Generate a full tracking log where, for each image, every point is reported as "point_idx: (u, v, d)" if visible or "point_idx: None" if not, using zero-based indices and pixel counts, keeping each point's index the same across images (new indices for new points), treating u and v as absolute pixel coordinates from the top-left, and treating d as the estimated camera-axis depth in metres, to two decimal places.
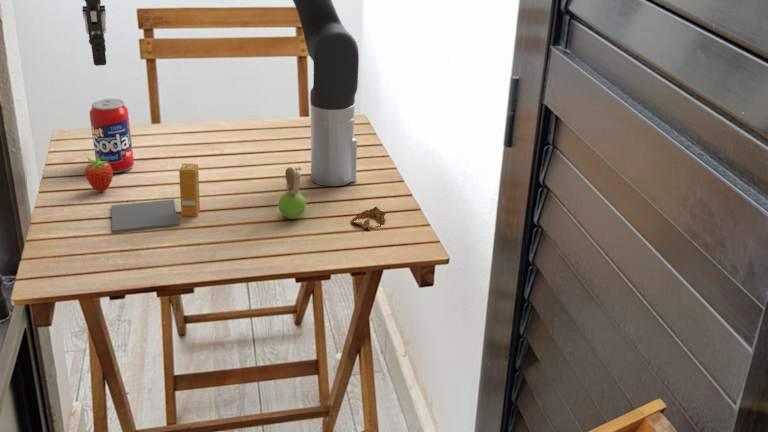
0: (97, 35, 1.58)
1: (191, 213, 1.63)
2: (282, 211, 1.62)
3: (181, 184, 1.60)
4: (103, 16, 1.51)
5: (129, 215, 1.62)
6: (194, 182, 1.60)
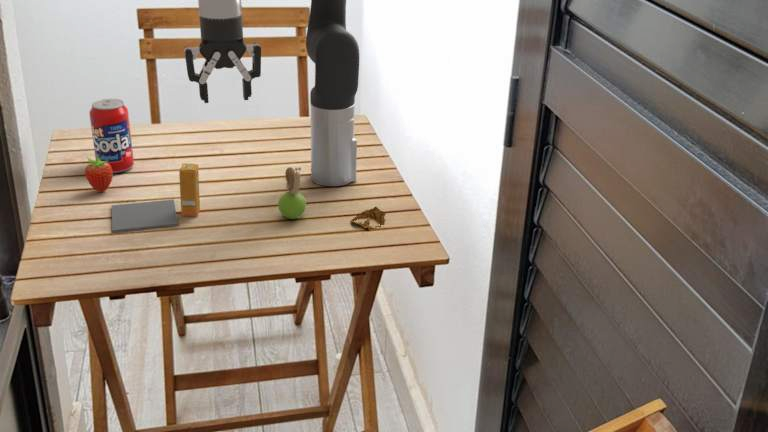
0: (206, 84, 1.55)
1: (191, 213, 1.63)
2: (282, 211, 1.62)
3: (181, 184, 1.60)
4: None
5: (129, 215, 1.62)
6: (194, 182, 1.60)
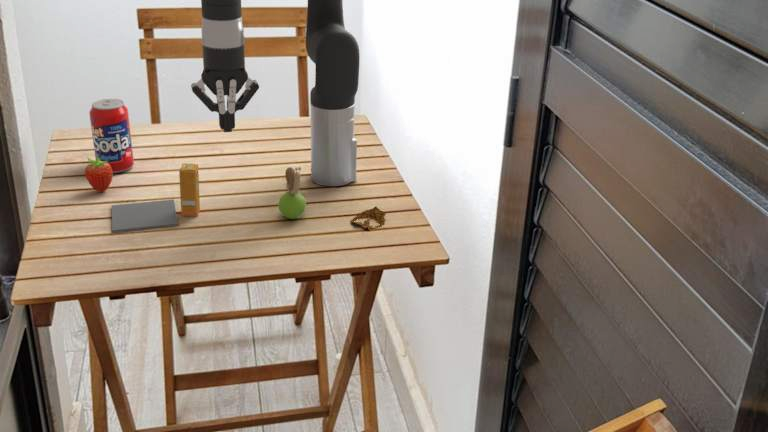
0: None
1: (191, 213, 1.63)
2: (282, 211, 1.62)
3: (181, 184, 1.60)
4: None
5: (129, 215, 1.62)
6: (194, 182, 1.60)
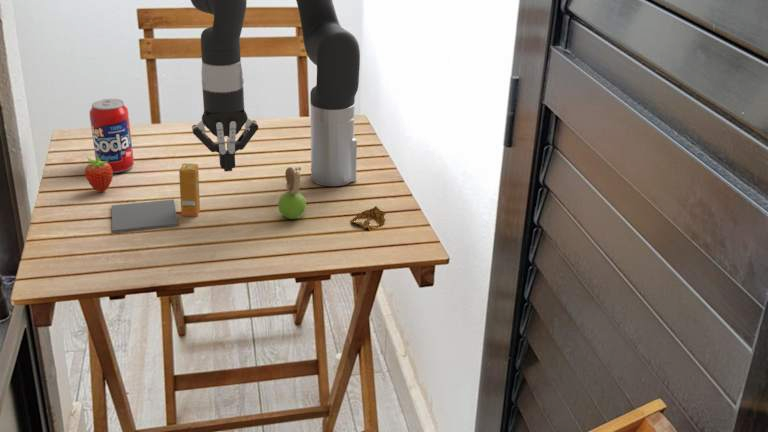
0: None
1: (191, 213, 1.63)
2: (282, 211, 1.62)
3: (181, 184, 1.60)
4: None
5: (129, 215, 1.62)
6: (194, 182, 1.60)
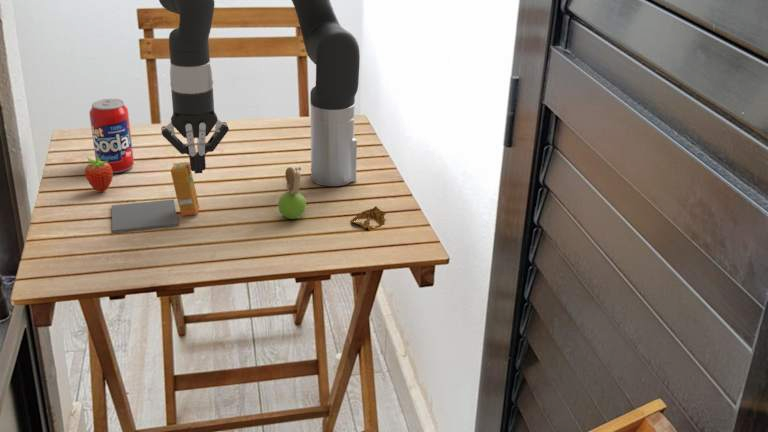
0: None
1: (190, 211, 1.63)
2: (282, 211, 1.62)
3: (175, 184, 1.60)
4: None
5: (129, 215, 1.62)
6: (187, 180, 1.60)
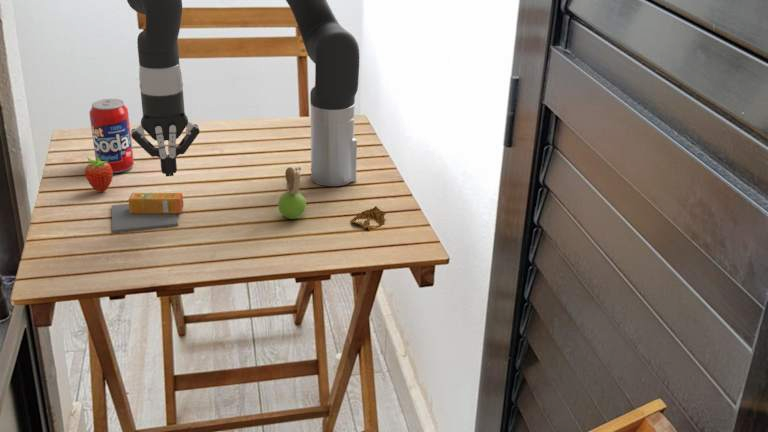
0: None
1: (176, 204, 1.62)
2: (282, 211, 1.62)
3: (145, 212, 1.63)
4: None
5: (129, 215, 1.62)
6: (141, 200, 1.62)
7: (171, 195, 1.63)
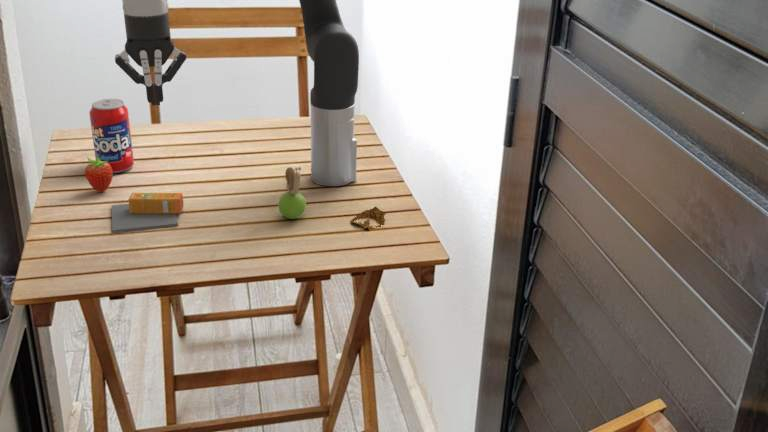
0: None
1: (176, 204, 1.62)
2: (282, 211, 1.62)
3: (145, 212, 1.63)
4: None
5: (129, 215, 1.62)
6: (141, 200, 1.62)
7: (171, 195, 1.63)
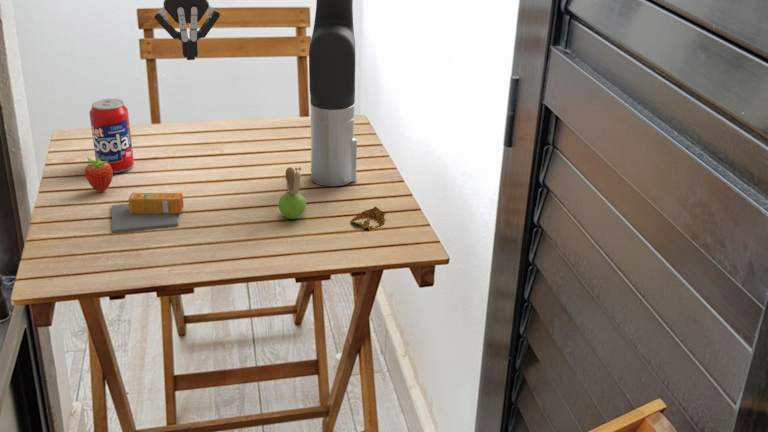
0: None
1: (176, 204, 1.62)
2: (282, 211, 1.62)
3: (145, 212, 1.63)
4: None
5: (129, 215, 1.62)
6: (141, 200, 1.62)
7: (171, 195, 1.63)
